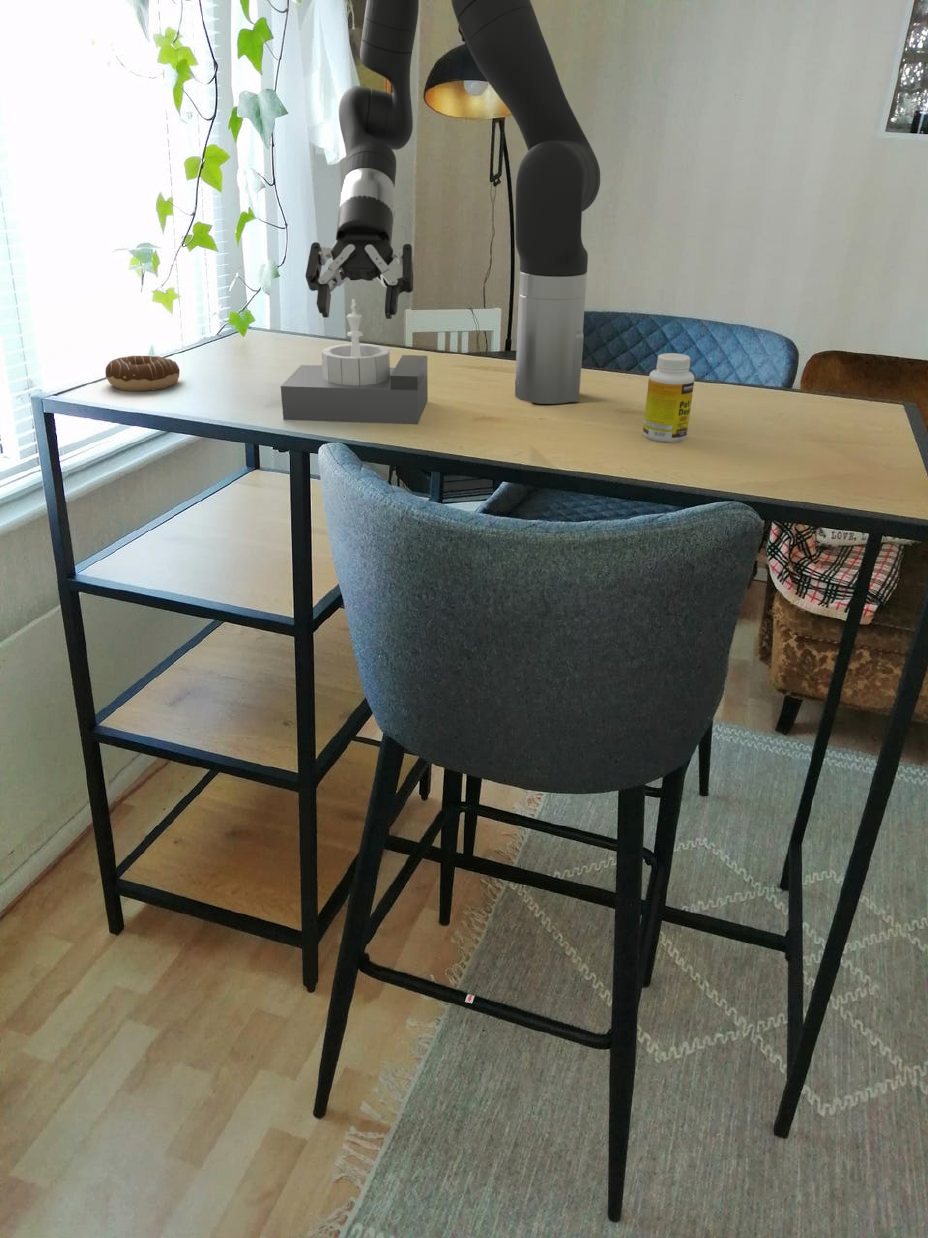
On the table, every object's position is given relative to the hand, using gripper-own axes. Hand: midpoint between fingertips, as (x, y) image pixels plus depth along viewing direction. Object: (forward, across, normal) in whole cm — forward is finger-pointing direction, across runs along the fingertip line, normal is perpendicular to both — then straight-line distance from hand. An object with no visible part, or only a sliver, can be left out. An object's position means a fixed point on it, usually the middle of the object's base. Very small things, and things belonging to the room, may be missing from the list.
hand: (356, 314), depth 123 cm
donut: (+3, -34, +15) cm, 37 cm away
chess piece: (+6, 0, +5) cm, 8 cm away
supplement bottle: (+16, +41, +3) cm, 44 cm away
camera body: (+10, 0, +8) cm, 13 cm away
